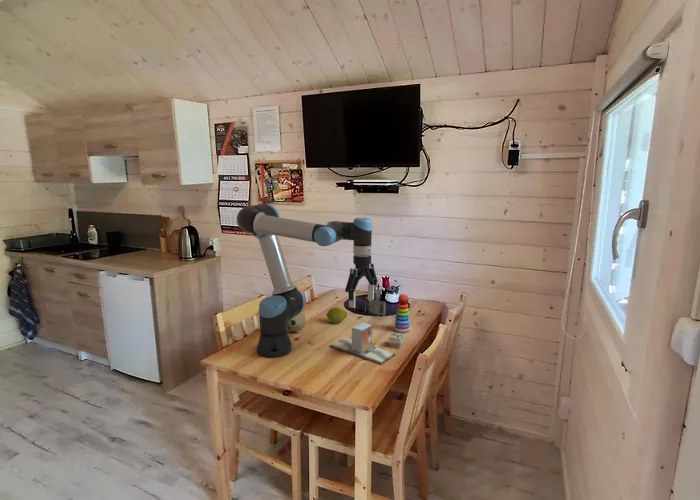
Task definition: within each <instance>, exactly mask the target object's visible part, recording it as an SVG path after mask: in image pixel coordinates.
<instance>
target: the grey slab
mask: <svg viewBox="0 0 700 500" xmlns="http://www.w3.org/2000/svg"><path fill="white" fill-rule="evenodd" d="M386 305H387V303H386V301H381V300H375V299H374V300H371V299H368V296H367V297H366V296H365V300H364V313H365V312H366V313H368V314H369V313H373V314H372V315H374V314H377V315H376V316H379V315H382V316H381V317H384V316H386V315H387V314H386ZM367 311H369V312H367ZM385 314H386V315H385Z"/></svg>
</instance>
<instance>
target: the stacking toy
mask: <svg viewBox="0 0 700 500" xmlns="http://www.w3.org/2000/svg"><path fill="white" fill-rule="evenodd" d="M397 299H398V300H397V301H398V304H397V309H396V310H397V311H396V315H395V318H394V319H395V320H394V327H393V330H394V331H395V332H396V333H398V334H404V333H405V334H406V333H408V332H410V331H411V327H410V326H411V323H410V316H409V315H410V313H409V304H408V302H409V296H408V295H407V294H405V293H401V294H399V296H398V297H397Z"/></svg>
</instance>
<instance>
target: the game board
mask: <svg viewBox="0 0 700 500" xmlns="http://www.w3.org/2000/svg"><path fill="white" fill-rule="evenodd" d="M329 348H331V349H335V350H338V351H340V352H343V353H346V354H349V355H352V356H355V357H357V358H361V359H362V360H363V359H364V360H367V361H369V362H372V363H375V364H378V365H381V366H382V365H384V364H386V363H387V362H388V361H389V360H391V359H392V358H394V357H395V356H396V355H397V354H396V353H394V352H391V351H388V350H386V349H381V348H379V347H375V346H373V345H372V348H370V349H368V350H366V351H364V352H363V353H360V352H357V351H354V350H352V338H348V337H343V338H341V339H339V340H338V341H335V342H334V343H331V344H330V345H329Z"/></svg>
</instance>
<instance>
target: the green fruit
mask: <svg viewBox="0 0 700 500" xmlns="http://www.w3.org/2000/svg"><path fill="white" fill-rule="evenodd" d="M347 316H348V312H347V311H346V310H344V309H343V308H340V307H332V308H330V309H329V310H328V311H327V313H326V317H327V319H328V321H329V322H330V323H332V324H339V323H342V322H343V321H345V319H346V318H347Z"/></svg>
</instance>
